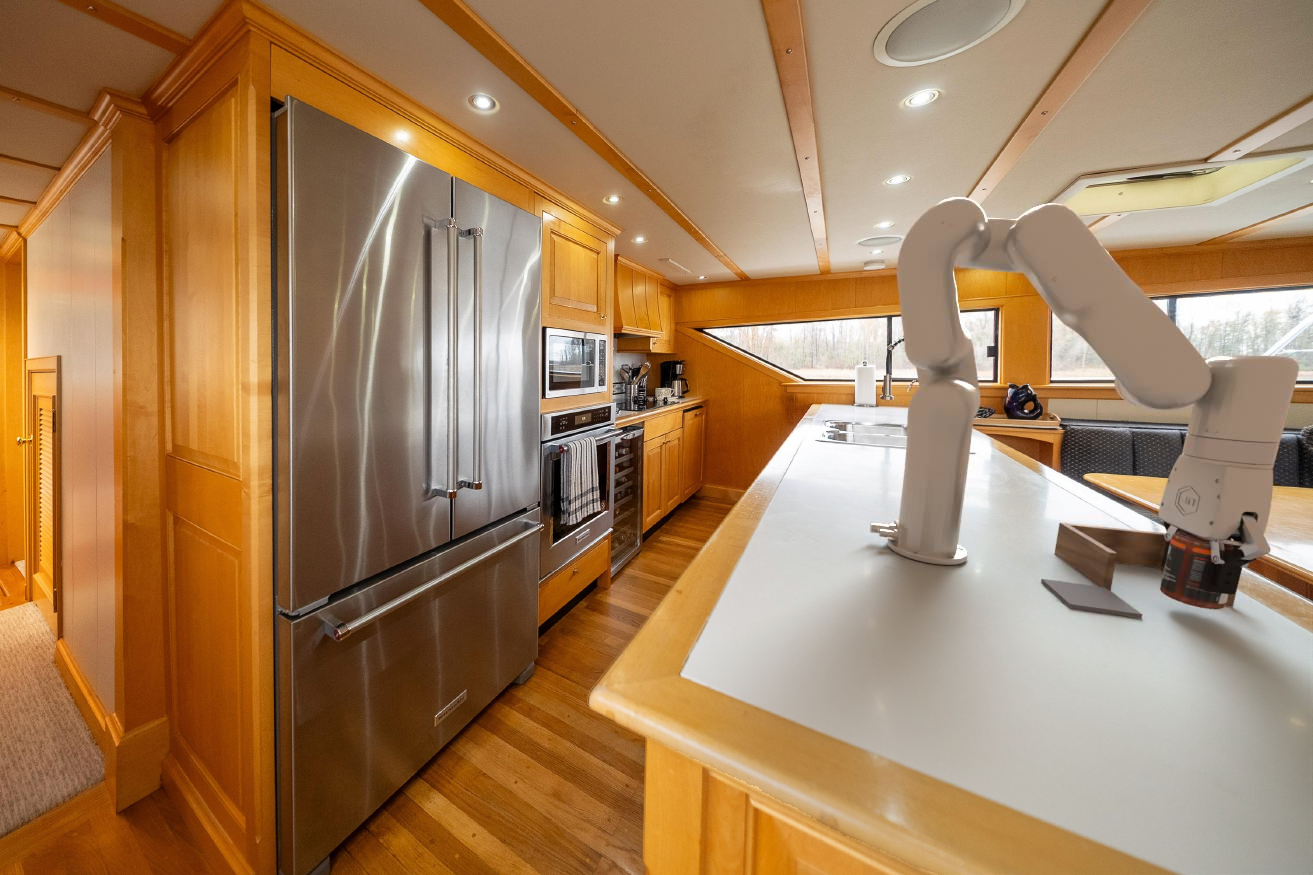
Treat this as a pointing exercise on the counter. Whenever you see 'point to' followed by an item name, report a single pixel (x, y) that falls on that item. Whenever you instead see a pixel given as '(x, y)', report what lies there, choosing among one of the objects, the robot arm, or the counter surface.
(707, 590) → the counter surface
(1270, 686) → the counter surface
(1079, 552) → the angled wooden boards
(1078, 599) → the mat
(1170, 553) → the supplement bottle
